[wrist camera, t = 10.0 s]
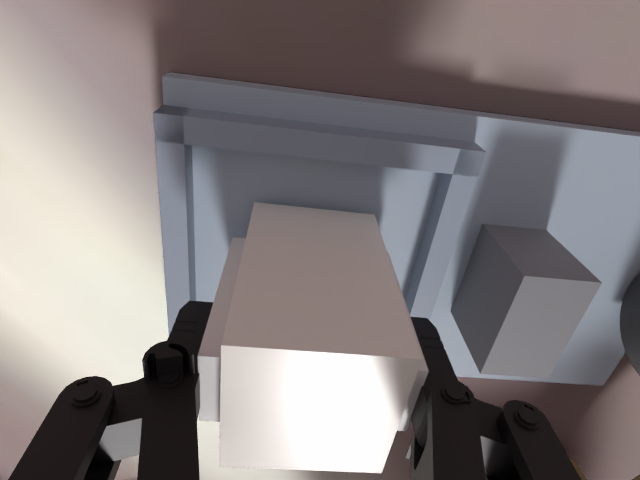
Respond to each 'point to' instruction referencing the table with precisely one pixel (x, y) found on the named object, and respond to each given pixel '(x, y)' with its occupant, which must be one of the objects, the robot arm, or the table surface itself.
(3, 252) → the table surface
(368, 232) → the white rectangular block
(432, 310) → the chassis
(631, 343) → the wheel
